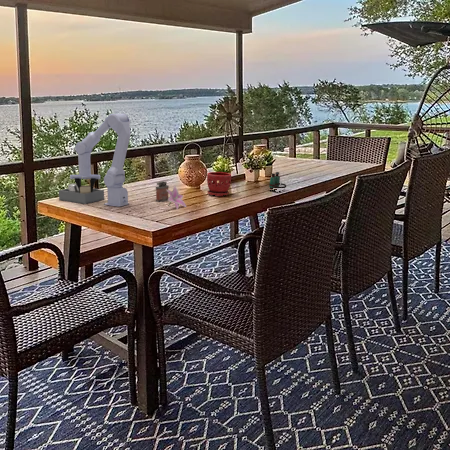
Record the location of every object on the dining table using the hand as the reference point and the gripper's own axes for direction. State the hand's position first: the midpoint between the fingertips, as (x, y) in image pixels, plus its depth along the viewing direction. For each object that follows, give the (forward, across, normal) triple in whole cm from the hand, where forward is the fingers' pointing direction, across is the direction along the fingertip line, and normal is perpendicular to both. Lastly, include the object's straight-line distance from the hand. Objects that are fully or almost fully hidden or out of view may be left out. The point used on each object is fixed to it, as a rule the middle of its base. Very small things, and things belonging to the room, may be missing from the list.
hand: (86, 193), depth 260 cm
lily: (+4, +44, -16) cm, 47 cm away
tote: (+4, -3, +2) cm, 5 cm away
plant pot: (+4, +69, +14) cm, 70 cm away
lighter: (+4, +38, 0) cm, 38 cm away
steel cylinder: (+3, -6, +4) cm, 8 cm away
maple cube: (+2, 0, 0) cm, 2 cm away
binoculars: (+4, +104, +24) cm, 106 cm away
